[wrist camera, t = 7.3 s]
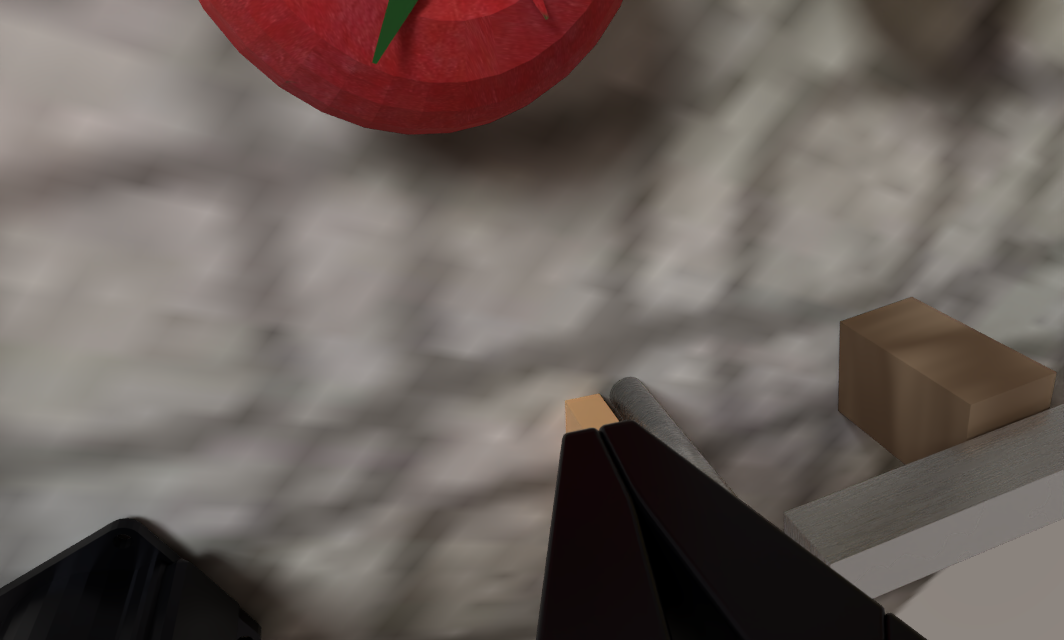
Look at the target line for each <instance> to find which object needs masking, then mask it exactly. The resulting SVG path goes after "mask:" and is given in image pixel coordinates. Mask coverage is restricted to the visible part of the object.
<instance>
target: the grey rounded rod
mask: <svg viewBox="0 0 1064 640" xmlns="http://www.w3.org/2000/svg"><path fill="white" fill-rule="evenodd" d="M610 400H611V402H612V404H613V405H614V406H615V408H616V409H617V410H618V412H619V413H620V415H621V416H622V417H623V419H624V420H633V421H636V422H637V423H639V424H640V425H641V426H643V427H644V428H645V429H647V430H648V431H649V432H651V433H652V434H653V435H655V436H656V437H657V438H659V439H660V440H661V441H663V442H664V443H665V444H667V445H668V446H669V447H671V448H672V449H673V450H675V451H676V452H677V453H679V454H680V455H681V456H683V457H684V458H685V459H687V460H688V461H689V462H691V463H692V464H693V465H695V466H696V467H697V468H699V469H700V470H701V471H703V472H704V473H705V474H707V475H708V476H709V477H711V478H712V479H713V480H715V481H716V482H717V483H719V484H720V485H721V486H723V487H724V488H725V489H727V490H728V491H729V492H731V493H732V494H733V495H735V494H734V493H733V491H732V490H731V489H730V488H729V487H728V485H727V484H726V483H725V482H724V481H723V479H722V478H721V477H720V476H719V475H718V474H717V472H716V471H715V470H714V469H713V468H712V466H711V465H710V464H709V463H708V462H707V460H706V459H705V458H704V457H703V456H702V454H701V453H700V452H699V451H698V450H697V448H696V447H695V446H694V445H693V444H692V443H691V441H690V440H689V439H688V438H687V437H686V435H685V434H684V433H683V432H682V431H681V429H680V428H679V427H678V426H677V425H676V423H675V422H674V421H673V420H672V419H671V417H670V416H669V415H668V414H667V413H666V411H665V410H664V409H663V408H662V407H661V406H660V404H659V403H658V402H657V401H656V400H655V398H654V397H653V396H652V395H651V394H650V392H649V391H648V390H647V389H646V388H645V386H644V385H643V384H642V383H641V382H640V381H639V380H638V379H637V378H634V377H626V378H623V379H621V380H619V381H618V382H617V383H616V384H615V385H614V386H613V388H612V389H611V392H610ZM735 496H736V495H735ZM736 497H737V496H736ZM737 498H738V497H737Z"/></svg>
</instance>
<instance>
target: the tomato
mask: <svg viewBox="0 0 1064 640" xmlns="http://www.w3.org/2000/svg"><path fill="white" fill-rule="evenodd" d="M622 1H623V0H199V2H200V4H201V5H202V7H203V9H204V10H205V11H206V13H207V14H208V15H209V16H210V17H211V19H212V20H213V21H214V22H215V24H216V25H217V26H218V27H219V28H220V30H221V31H222V32H223V33H224V34H225V36H226V37H227V38H228V39H229V40H230V42H231V43H232V44H233V45H234V47H235V48H236V49H237V50H238V51H239V53H241V54H242V55H243V56H244V57H245V58H246V59H248V60H249V61H250V62H251V63H252V64H253V65H255V66H256V67H257V68H258V69H259V70H260V71H262V72H263V73H264V74H265V75H266V76H267V77H269V78H270V79H271V80H272V81H273V82H274V83H275V84H277V85H278V86H279V87H281V88H282V89H284V90H286V91H287V92H289V93H291V94H292V95H294V96H296V97H297V98H299V99H301V100H303V101H304V102H306V103H308V104H309V105H311V106H313V107H314V108H316V109H318V110H319V111H321V112H324V113H326V114H329V115H332V116H335V117H337V118H340V119H343V120H345V121H348V122H351V123H354V124H356V125H359V126H362V127H365V128H370V129H377V130H383V131H389V132H395V133H402V134H408V135H409V134H435V133H452V132H456V131H460V130H464V129H468V128H472V127H476V126H480V125H484V124H488V123H491V122H493V121H495V120H498V119H500V118H502V117H504V116H506V115H508V114H510V113H512V112H515V111H517V110H519V109H521V108H523V107H525V106H527V105H528V104H530V103H531V102H533V101H534V100H535V99H537V98H538V97H539V96H541V95H542V94H543V93H545V92H546V91H548V90H549V89H550V88H552V87H553V86H554V85H556V84H557V83H558V82H560V81H561V80H562V79H564V78H565V77H566V76H568V75H569V73H570V72H571V71H572V70H573V69H574V68H575V67H576V66H577V65H578V64H579V63H580V62H581V60H582V59H583V58H584V57H585V56H586V55H587V54H588V53H589V52H590V51H591V50H592V48H593V47H594V46H595V45H596V44H597V42H598V41H599V39H600V38H601V36H602V35H603V33H604V31H605V30H606V28H607V27H608V25H609V23H610V22H611V20H612V19H613V17H614V16H615V14H616V12H617V11H618V9H619V8H620V6H621V3H622Z"/></svg>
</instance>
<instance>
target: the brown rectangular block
mask: <svg viewBox="0 0 1064 640" xmlns="http://www.w3.org/2000/svg"><path fill="white" fill-rule="evenodd" d="M1056 373H1057V372H1055V371H1053V370H1051V369H1049V368H1047V367H1045V366H1043V365H1042V364H1040V363H1038V362H1036V361H1034V360H1032V359H1030V358H1028V357H1026V356H1024V355H1022V354H1020V353H1019V352H1017V351H1015V350H1013V349H1011V348H1009V347H1007V346H1005V345H1003V344H1001V343H999V342H997V341H996V340H994V339H992V338H990V337H988V336H986V335H984V334H982V333H980V332H978V331H976V330H974V329H973V328H971V327H969V326H967V325H965V324H963V323H961V322H959V321H957V320H955V319H953V318H951V317H949V316H948V315H946V314H944V313H942V312H940V311H938V310H936V309H934V308H932V307H930V306H928V305H926V304H925V303H923V302H921V301H919V300H917V299H915V298H913V297H910V298H907V299H904V300H901V301H899V302H896V303H893V304H890V305H887V306H884V307H881V308H878V309H875V310H872V311H869V312H867V313H864V314H861V315H858V316H855V317H852V318H849V319H846V320H843V321H840V356H839V405H838V411H839V412H841V413H842V414H843V415H844V416H846V417H847V418H848V419H849V420H851V421H852V422H853V423H854V424H856V425H857V426H858V427H859V428H861V429H862V430H863V431H864V432H865V433H867V434H868V435H869V436H870V437H872V438H873V439H874V440H875V441H877V442H878V443H879V444H880V445H882V446H883V447H884V448H885V449H887V450H888V451H889V452H890V453H892V454H893V455H894V456H895V457H897V458H898V459H899V460H900V461H901V462H903V463H904V464H905V465H907V464H910V463H912V462H915V461H917V460H920V459H922V458H925V457H928V456H930V455H933V454H935V453H938V452H940V451H943V450H946V449H948V448H951V447H953V446H956V445H958V444H961V443H964V442H966V441H969V440H971V439H974V438H977V437H979V436H982V435H984V434H987V433H989V432H992V431H995V430H997V429H1000V428H1002V427H1005V426H1007V425H1010V424H1013V423H1015V422H1018V421H1020V420H1023V419H1025V418H1028V417H1031V416H1033V415H1036V414H1038V413H1041V412H1043V411H1046V410H1049V408H1050V403H1051V398H1052V393H1053V388H1054V383H1055V378H1056Z"/></svg>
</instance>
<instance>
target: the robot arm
mask: <svg viewBox="0 0 1064 640" xmlns="http://www.w3.org/2000/svg"><path fill="white" fill-rule="evenodd" d="M121 534H122V535H128V536H130V537H131V538H129V539H122V538H120V537H118V535H121ZM242 636H249V637H247V638H242ZM0 640H261V627H260V625H259V624H258V623H257V622H256V621H255V620H253V619H252V618H251V617H250V616H249V615H248V614H246V613H245V612H244V611H243V610H242V609H241V608H240V606H239V604H238V603H237V602H236V601H235V600H234V599H233V598H231V597H230V596H229V595H228V594H227V593H226V592H224V591H223V590H222V589H221V588H220V587H219V586H217V585H216V584H215V583H214V582H213V581H212V580H210V579H209V578H208V577H207V576H206V575H205V574H203V573H202V572H201V571H200V570H199V569H198V568H196V567H195V566H194V565H193V564H192V563H191V562H189V561H186V560H183V559H182V558H181V557H180V556H179V555H178V554H176V553H175V552H174V551H173V550H172V549H171V548H169V547H168V546H167V545H166V544H165V543H164V542H162V541H161V540H160V539H159V538H158V537H157V536H155V535H154V534H153V533H152V532H151V531H149V530H148V529H147V528H146V527H145V526H144V525H142V524H141V523H140V522H138V521H136V520H134V519H129V518H125V519H119V520H116V521H113V522H112V523H110V524H108V525H107V526H105V527H103V528H102V529H100V530H98V531H97V532H95V533H93V534H91V535H90V536H88V537H86V538H85V539H83V540H81V541H80V542H78V543H76V544H75V545H73V546H71V547H70V548H68V549H66V550H64V551H63V552H61V553H59V554H58V555H56V556H54V557H53V558H51V559H49V560H48V561H46V562H44V563H43V564H41V565H39V566H37V567H36V568H34V569H32V570H31V571H29V572H27V573H26V574H24V575H22V576H21V577H19V578H17V579H16V580H14V581H12V582H10V583H9V584H7V585H5V586H4V587H2V588H0ZM536 640H927V639H926V638H924V637H923V636H922V635H920V634H919V633H918V632H916V631H915V630H914V629H912V628H911V627H910V626H908V625H907V624H906V623H904V622H903V621H902V620H900V619H899V618H898V617H896V616H895V615H894V614H892V613H887V614H886V615H885V610H884V608H883V607H882V606H881V605H880V604H879V603H877V602H876V601H875V600H873V599H872V598H871V597H869V596H868V595H867V594H865V593H864V592H863V591H861V590H860V589H859V588H857V587H856V586H855V585H853V584H852V583H851V582H849V581H848V580H847V579H845V578H844V577H843V576H841V575H840V574H839V573H837V572H836V571H835V570H833V569H832V568H831V567H829V566H828V565H827V564H825V563H824V562H823V561H821V560H820V559H819V558H817V557H816V556H815V555H813V554H812V553H811V552H809V551H808V550H807V549H805V548H804V547H803V546H801V545H800V544H799V543H797V542H796V541H795V540H793V539H792V538H791V537H789V536H788V535H787V534H785V533H784V532H783V531H781V530H780V529H779V528H777V527H776V526H775V525H773V524H772V523H771V522H769V521H768V520H767V519H765V518H764V517H763V516H761V515H760V514H759V513H757V512H756V511H755V510H753V509H752V508H751V507H749V506H748V505H747V504H745V503H744V502H743V501H741V500H740V499H739V498H737V497H736V496H735V495H733V494H732V493H731V492H729V491H728V490H727V489H725V488H724V487H723V486H721V485H720V484H719V483H717V482H716V481H715V480H713V479H712V478H711V477H709V476H708V475H707V474H705V473H704V472H703V471H701V470H700V469H699V468H697V467H696V466H695V465H693V464H692V463H691V462H689V461H688V460H687V459H685V458H684V457H683V456H681V455H680V454H679V453H677V452H676V451H675V450H673V449H672V448H671V447H669V446H668V445H667V444H665V443H664V442H663V441H661V440H660V439H659V438H657V437H656V436H655V435H653V434H652V433H651V432H649V431H648V430H647V429H645V428H644V427H643V426H641V425H640V424H639V423H637V422H636V421H633V420H624V421H620V422H615V423H610V424H605V425H603V426H601V427H600V429H599V431H598V430H597V429H596V428H587V429H582V430H578V431H573V432H568V433H566V434H565V435H564V436H563V438H562V444H561V452H560V459H559V467H558V475H557V482H556V490H555V498H554V505H553V513H552V520H551V528H550V536H549V543H548V551H547V558H546V566H545V574H544V581H543V589H542V597H541V604H540V612H539V619H538V627H537V635H536Z"/></svg>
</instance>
